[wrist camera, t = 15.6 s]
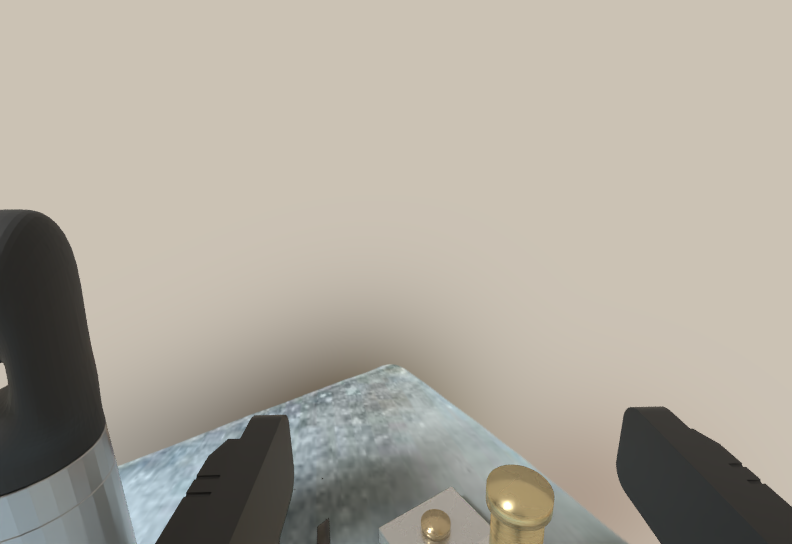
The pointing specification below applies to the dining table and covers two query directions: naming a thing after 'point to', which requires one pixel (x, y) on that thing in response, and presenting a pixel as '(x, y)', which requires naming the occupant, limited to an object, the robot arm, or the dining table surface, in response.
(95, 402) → the robot arm
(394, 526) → the gray block
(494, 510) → the pin
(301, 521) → the dining table surface
